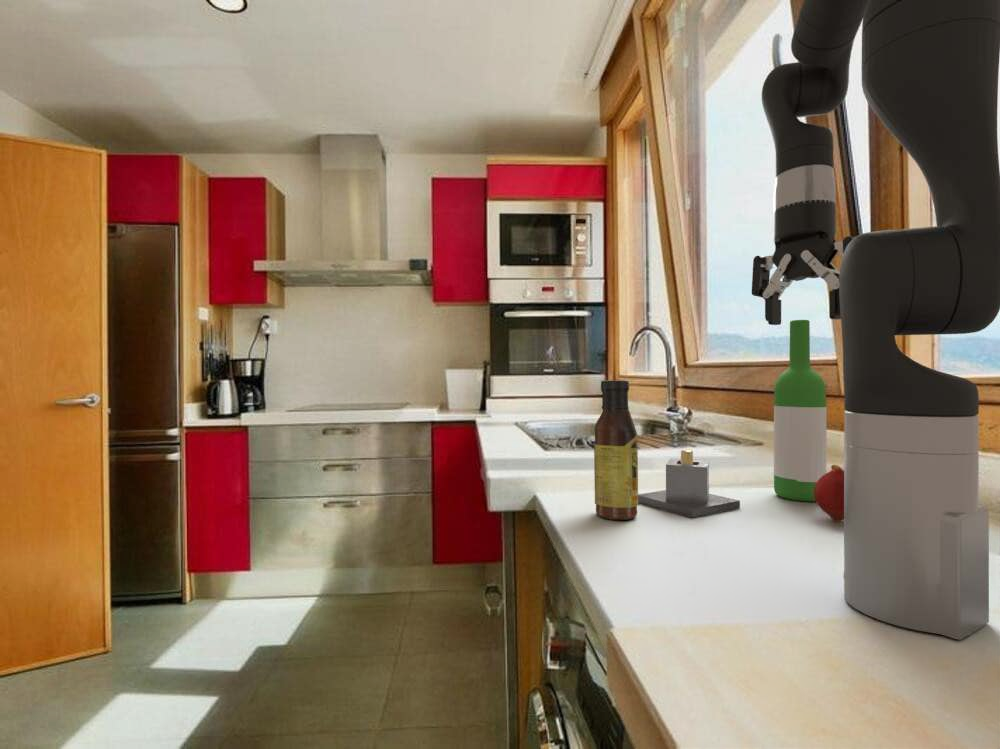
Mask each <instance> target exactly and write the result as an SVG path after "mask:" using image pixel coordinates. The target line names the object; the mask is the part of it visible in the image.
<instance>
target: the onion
mask: <svg viewBox="0 0 1000 749" xmlns="http://www.w3.org/2000/svg"><path fill="white" fill-rule="evenodd" d="M830 467H831V470H829V472H826V474H825V475H823V476H822V477H821V478H820V479H819V480H818V481H817V482H816V484H815V486H814V491H813V493H814V499H815V501H814V502H815V503H816V505H817V506H818V507H819V508H820V509H821V511H823V512H824V513H825V514H826V515H827V516H829V518H831V519H832V520H833V521H834V522H838V523H839V522H842V521H844V469H843V468H841V466H840V465H839V464H832V465H830Z"/></svg>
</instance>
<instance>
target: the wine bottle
mask: <svg viewBox="0 0 1000 749" xmlns="http://www.w3.org/2000/svg"><path fill="white" fill-rule="evenodd" d="M810 328H811V327H810V320H809V319H794V320H790V322H789V366H788V368H787V369H786V370H784V371H783V372H782V373H781V374H780V375H779V376H778V378H777V380H776V382H775V384H774V389H773V390H774V391H773V392H774V393H773V488H774V493H775V495H777V496H779V497H780V498H783V499H786V500H791V501H798V502H816V501H815V499H814V493H813V491H814V486H815V484H816V482H817V481H818V480H819V479H820V478H821V477H822V476H823V475H825V474H826V473H827V388H826V383H825V381H824V379H823V377H822V376H821V375H820V374H819V373H818V372H817V371H816V370H814V369H813V368H812V367H811V362H810V361H811V353H810V352H811V348H810V345H811V342H810V341H811V339H810V338H811V337H810V336H811V335H810V333H811V332H810Z"/></svg>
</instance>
